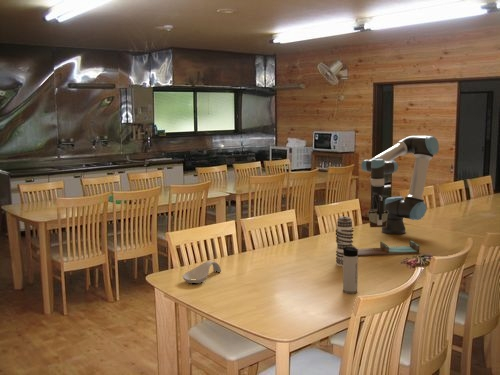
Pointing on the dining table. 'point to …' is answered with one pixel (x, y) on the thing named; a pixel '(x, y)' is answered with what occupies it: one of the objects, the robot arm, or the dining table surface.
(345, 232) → the decorative candle
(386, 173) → the robot arm
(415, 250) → the rack
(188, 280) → the spoon rest
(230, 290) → the dining table surface
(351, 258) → the travel mug
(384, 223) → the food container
